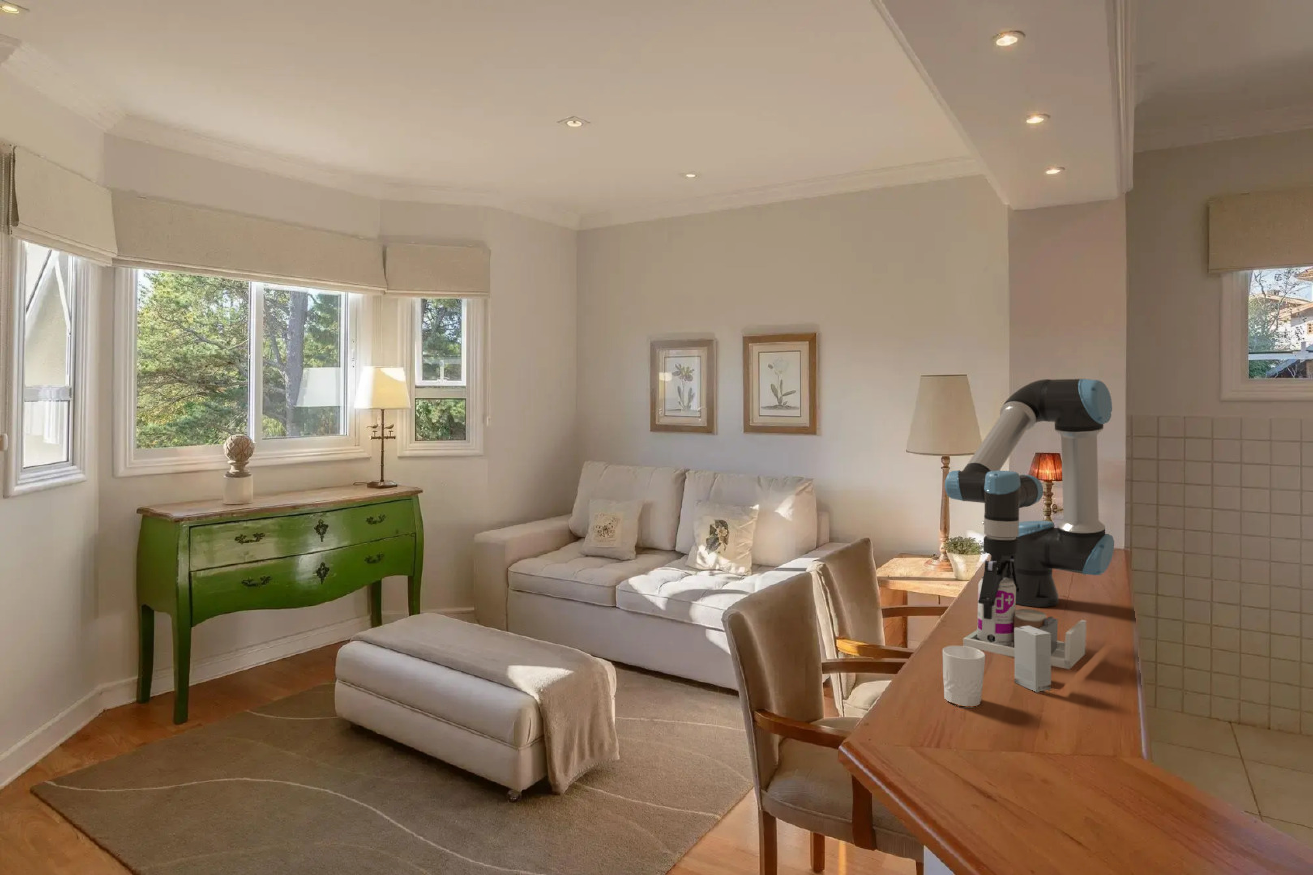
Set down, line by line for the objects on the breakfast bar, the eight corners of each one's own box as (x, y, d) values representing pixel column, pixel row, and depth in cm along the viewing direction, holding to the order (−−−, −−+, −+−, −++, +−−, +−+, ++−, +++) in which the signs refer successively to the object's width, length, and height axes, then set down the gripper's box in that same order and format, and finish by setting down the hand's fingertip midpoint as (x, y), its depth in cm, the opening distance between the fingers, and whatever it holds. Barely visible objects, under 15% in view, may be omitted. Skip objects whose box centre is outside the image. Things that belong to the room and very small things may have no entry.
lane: (982, 637, 196) (983, 602, 195) (1084, 658, 180) (1086, 620, 180) (962, 650, 186) (963, 613, 185) (1069, 674, 171) (1070, 634, 170)
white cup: (982, 696, 159) (983, 647, 158) (985, 711, 152) (986, 660, 151) (941, 691, 162) (942, 643, 161) (941, 705, 154) (942, 656, 154)
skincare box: (1052, 690, 162) (1053, 632, 161) (1035, 693, 160) (1037, 635, 159) (1028, 680, 168) (1030, 624, 167) (1012, 682, 166) (1013, 626, 165)
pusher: (1052, 647, 184) (1053, 613, 183) (1056, 648, 183) (1057, 613, 182) (1038, 659, 176) (1039, 623, 175) (1043, 660, 175) (1044, 624, 175)
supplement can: (1018, 647, 182) (1020, 584, 181) (980, 645, 184) (982, 582, 183) (1009, 636, 190) (1011, 575, 189) (973, 634, 192) (975, 574, 191)
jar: (1018, 644, 187) (1019, 607, 186) (1049, 650, 182) (1051, 612, 182) (1008, 651, 182) (1009, 613, 181) (1040, 658, 177) (1042, 619, 176)
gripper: (1002, 527, 197) (1000, 610, 198) (964, 543, 178) (963, 634, 180) (1034, 530, 192) (1031, 615, 193) (999, 547, 173) (996, 641, 175)
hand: (998, 625), depth 187 cm, fingers open, 13 cm apart
